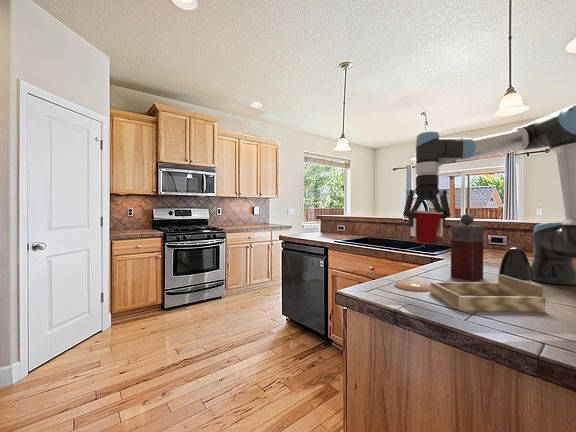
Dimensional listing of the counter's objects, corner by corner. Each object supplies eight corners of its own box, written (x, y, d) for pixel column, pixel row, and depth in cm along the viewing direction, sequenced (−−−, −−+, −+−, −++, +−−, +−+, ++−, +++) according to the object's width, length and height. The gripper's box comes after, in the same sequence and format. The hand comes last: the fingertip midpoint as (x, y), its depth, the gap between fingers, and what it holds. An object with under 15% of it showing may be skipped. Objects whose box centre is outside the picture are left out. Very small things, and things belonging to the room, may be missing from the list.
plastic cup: (433, 245, 96) (433, 210, 96) (404, 242, 105) (404, 210, 105) (448, 243, 102) (449, 210, 102) (420, 240, 111) (420, 210, 111)
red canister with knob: (486, 279, 120) (486, 214, 120) (472, 283, 114) (473, 214, 114) (463, 276, 127) (464, 214, 127) (450, 278, 121) (450, 214, 121)
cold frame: (499, 293, 98) (499, 274, 98) (545, 311, 80) (545, 287, 80) (430, 293, 99) (430, 273, 99) (460, 310, 81) (460, 286, 81)
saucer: (422, 282, 114) (422, 280, 114) (439, 291, 101) (439, 288, 101) (390, 282, 114) (390, 280, 114) (403, 291, 101) (403, 288, 101)
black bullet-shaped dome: (526, 284, 112) (526, 246, 111) (536, 291, 102) (537, 249, 102) (495, 282, 116) (495, 245, 116) (502, 288, 106) (502, 248, 106)
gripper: (450, 176, 107) (449, 235, 107) (393, 176, 107) (393, 235, 107) (462, 173, 100) (462, 237, 100) (401, 173, 100) (401, 236, 100)
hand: (426, 236), depth 103 cm, fingers closed on plastic cup, 9 cm apart
